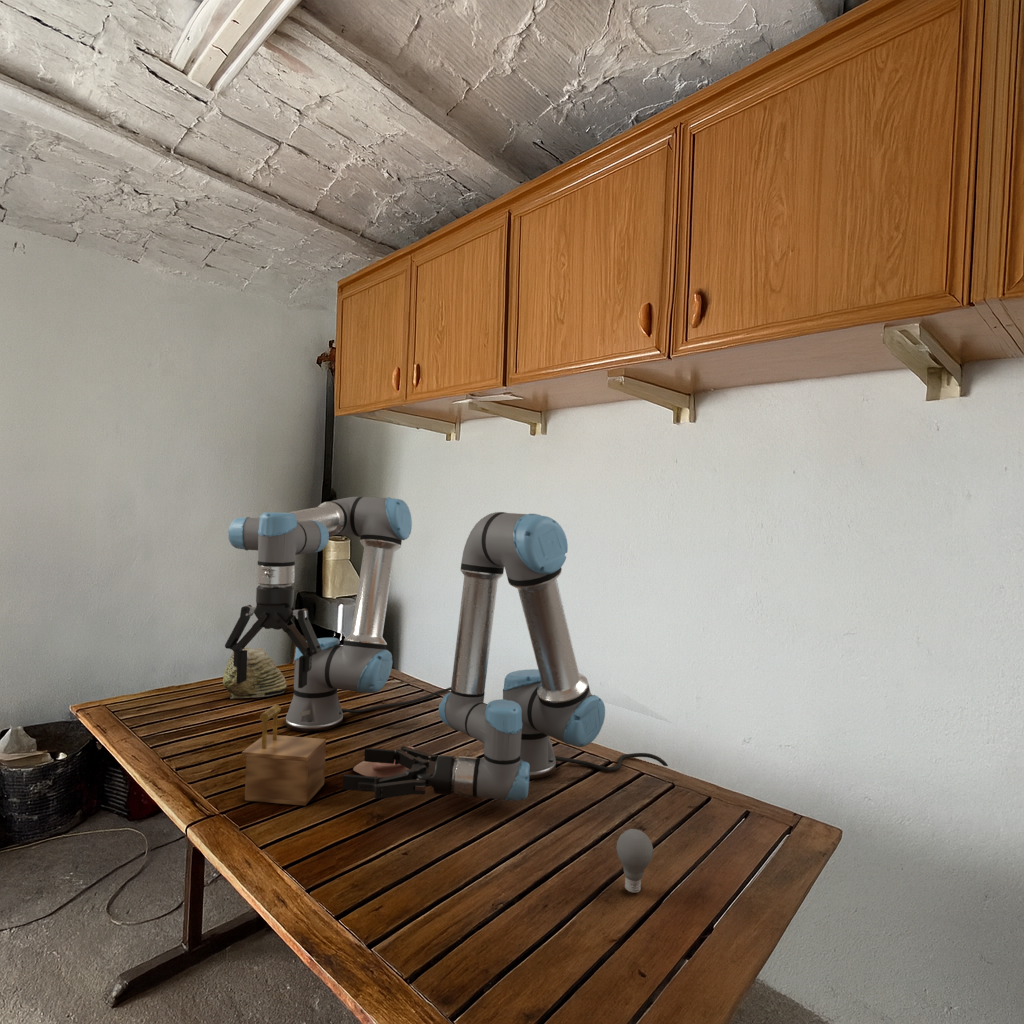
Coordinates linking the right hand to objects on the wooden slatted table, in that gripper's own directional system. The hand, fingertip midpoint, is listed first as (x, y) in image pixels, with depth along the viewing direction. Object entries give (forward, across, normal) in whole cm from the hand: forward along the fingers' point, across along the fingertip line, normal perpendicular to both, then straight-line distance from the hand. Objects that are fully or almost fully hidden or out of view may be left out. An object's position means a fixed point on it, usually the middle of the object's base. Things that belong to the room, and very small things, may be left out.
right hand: (354, 767), depth 133 cm
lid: (+16, +1, +2) cm, 16 cm away
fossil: (+53, +61, -7) cm, 81 cm away
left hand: (+19, +1, +16) cm, 25 cm away
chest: (+15, +1, -7) cm, 17 cm away
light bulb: (-56, -23, -7) cm, 60 cm away
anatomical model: (-2, +16, -7) cm, 17 cm away
